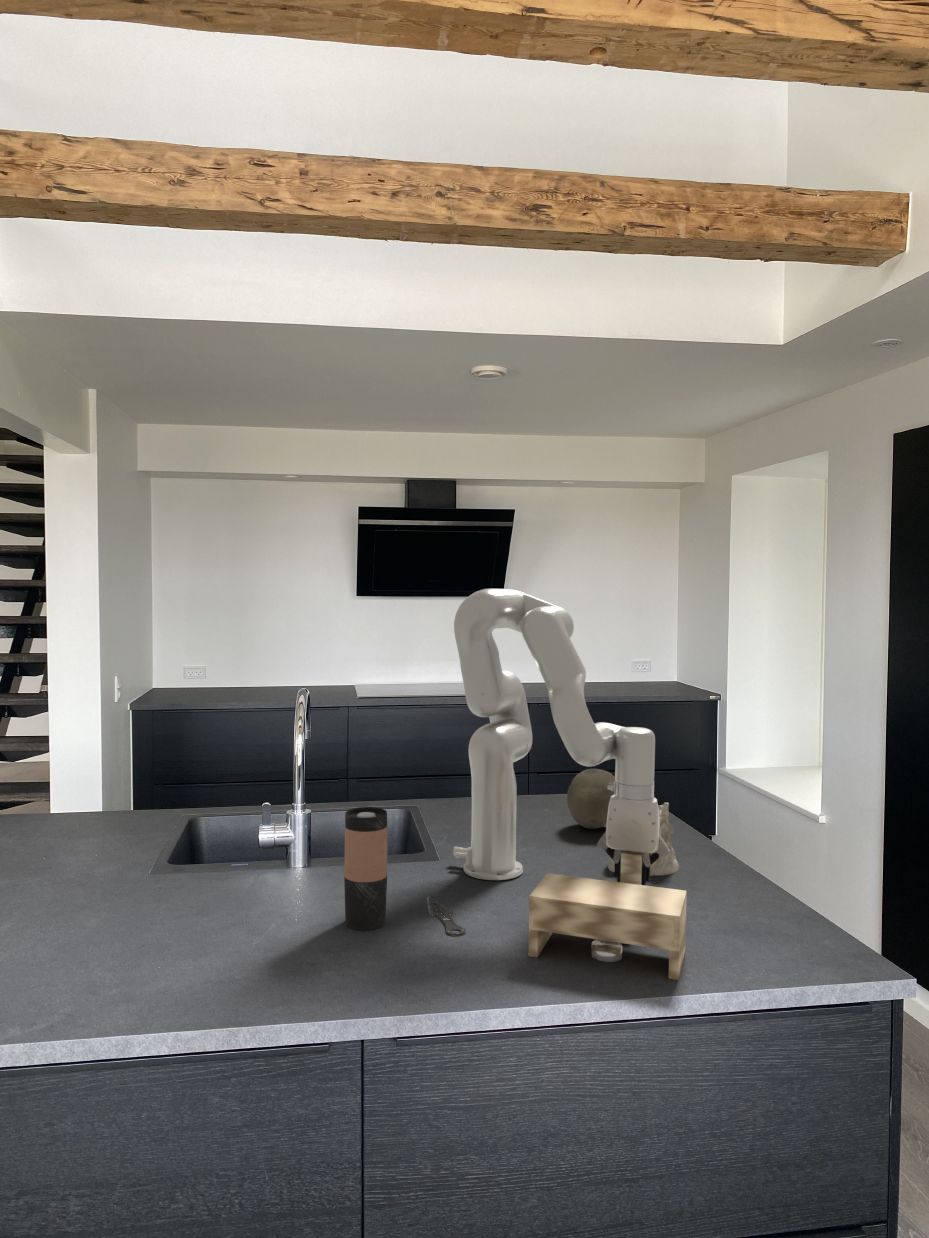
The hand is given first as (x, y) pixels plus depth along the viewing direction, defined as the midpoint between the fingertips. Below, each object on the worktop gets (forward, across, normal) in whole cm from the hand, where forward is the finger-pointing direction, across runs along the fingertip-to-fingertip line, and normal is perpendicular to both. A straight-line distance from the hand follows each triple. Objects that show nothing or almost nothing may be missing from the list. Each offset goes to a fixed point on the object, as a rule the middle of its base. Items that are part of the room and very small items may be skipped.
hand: (632, 882), depth 169 cm
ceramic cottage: (+3, -1, +21) cm, 21 cm away
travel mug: (+3, -43, -31) cm, 53 cm away
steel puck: (+3, 0, -29) cm, 29 cm away
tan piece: (+2, 0, -10) cm, 10 cm away
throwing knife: (+3, -32, -22) cm, 39 cm away
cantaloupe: (+3, -16, +44) cm, 47 cm away
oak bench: (+3, 0, -28) cm, 28 cm away
